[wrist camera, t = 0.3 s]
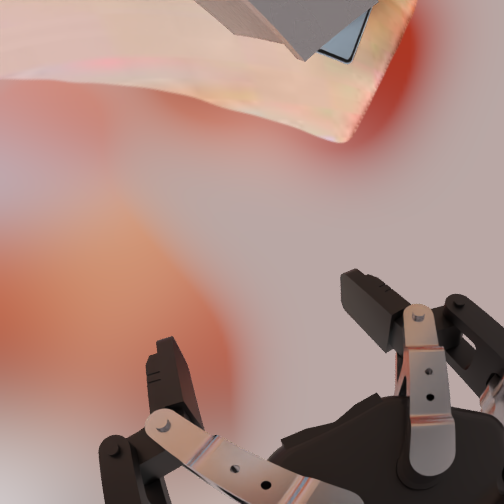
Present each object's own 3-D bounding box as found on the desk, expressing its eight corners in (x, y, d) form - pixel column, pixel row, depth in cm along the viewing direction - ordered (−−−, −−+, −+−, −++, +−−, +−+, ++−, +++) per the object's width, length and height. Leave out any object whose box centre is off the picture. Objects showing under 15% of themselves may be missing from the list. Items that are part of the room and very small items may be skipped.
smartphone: (311, 50, 33) (341, -35, 23) (307, 49, 33) (338, -35, 24) (350, 66, 36) (379, -13, 26) (347, 64, 36) (375, -13, 27)
